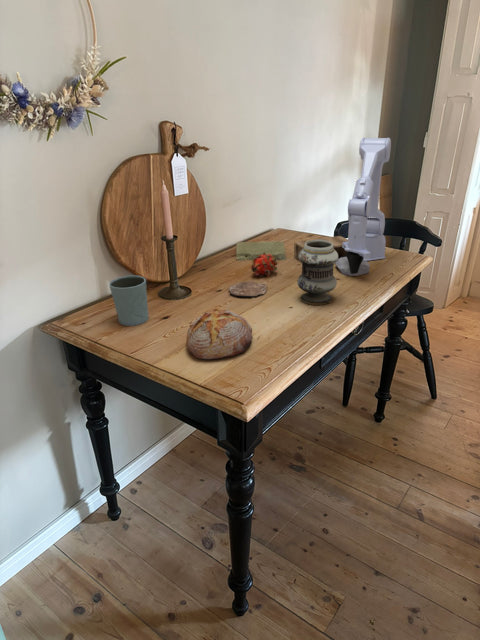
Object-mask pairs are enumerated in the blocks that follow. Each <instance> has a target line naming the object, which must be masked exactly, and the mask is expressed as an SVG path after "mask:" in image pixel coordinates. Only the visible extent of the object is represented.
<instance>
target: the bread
mask: <svg viewBox="0 0 480 640" xmlns="http://www.w3.org/2000/svg"><path fill="white" fill-rule="evenodd" d="M252 339H253V328H252V325H250V323H249V322H248V320H246V319H245V318H244V317H243V316H241V315H240V314H237V313H235V312H232V311H230V310H228V309H224V310H218V309H212V310H210V311H207V312H206V311H205V312H204V313H203V314H202V315H201V316H199V317H197V319H195V320H194V321H193V322H192V323H191V324H190V325H189V328H188V329H187V333H186V340H185V341H186V343H185V345H186V348H187V350H188V351H189V352H190V354H192V355H194V356H195V358H197V359H199V360H217V359H223V358H227V357H233V356H236V355H241V354H243V353H244V352H245V351H246V350H247V349H248V347H249V346H250V344H251V341H252Z"/></svg>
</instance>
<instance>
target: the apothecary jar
mask: <svg viewBox="0 0 480 640" xmlns="http://www.w3.org/2000/svg"><path fill="white" fill-rule="evenodd" d="M309 240H310V241H307V242H305V245H304V249H302V250H301V251H300V253H299V260H300V261H301V262H302V263H301V262H300V261H299V262H300V263H301V266H302V267H301V274H300V275H299V276H298V278H297V279H296V280H297V286H298V288H300V290H302V291H303V294H301V295H300V301H302V303H304V304H307V305H313V306H323V305H325V304H330V303H331V302H332V301H333V298H332V297H333V296H331V295H330V294H329V293H330V292H331V291H333V290H335V288H336V286H337V285H338V281H337V278H336V277H335V276H334V266H335V262H336V261H337V260H338V259H339V253H337V252H336V251H335V250H334V248H333V243H332V242H330V241H327V240H312V239H309ZM304 292H305V293H304Z"/></svg>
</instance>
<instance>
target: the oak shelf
mask: <svg viewBox="0 0 480 640" xmlns="http://www.w3.org/2000/svg"><path fill="white" fill-rule="evenodd" d="M310 240H327V241H330V242H332V243H333V248H334V250H335V251H336V252H337V253H338V255H340V256H341V257H346V255H345V253H348V252H349V251H345V248H342V244H343V242H348V238H346V237H343V236H341V235H337V236H335V235H334V236H329V237H321V238H320V237H319V238H314V239H313V238H312V239H307V240H299V241H293V259H295V260H297V261H299V263H301V264H302V262H301V261H300V260H299V253H300V251H301V250H302V249H304V245H305V242H307V241H310Z"/></svg>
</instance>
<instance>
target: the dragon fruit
mask: <svg viewBox="0 0 480 640" xmlns="http://www.w3.org/2000/svg"><path fill="white" fill-rule="evenodd" d="M251 263H252V264H251V265H250V269H251V271H252V273H254V277H261V276H263V275H266V277H269V276H271V274H272V272H274V271H276V270H278V267H277V265H278V262H277V260H276V258H275V257H274V256H273V255H272V254H269V255H267V254H266V253H263V255H258V256H257V257H256V258H255V259H254V260H251Z"/></svg>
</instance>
